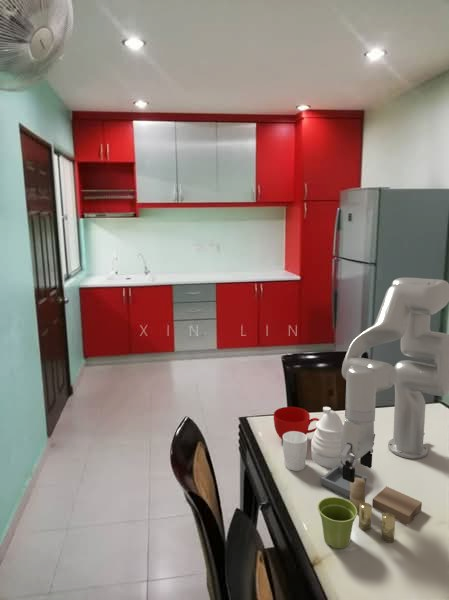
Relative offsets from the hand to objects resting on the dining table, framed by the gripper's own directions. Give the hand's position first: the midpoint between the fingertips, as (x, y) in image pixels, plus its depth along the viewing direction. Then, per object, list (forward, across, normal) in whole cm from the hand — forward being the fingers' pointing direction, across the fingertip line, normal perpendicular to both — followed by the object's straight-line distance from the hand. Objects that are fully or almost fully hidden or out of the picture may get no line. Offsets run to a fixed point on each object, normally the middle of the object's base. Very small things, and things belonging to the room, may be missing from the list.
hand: (357, 472), depth 114 cm
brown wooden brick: (+11, -8, +8) cm, 16 cm away
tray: (+11, -8, -8) cm, 16 cm away
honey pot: (+11, -19, -19) cm, 29 cm away
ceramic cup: (+11, -21, -34) cm, 41 cm away
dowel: (+11, -1, 0) cm, 11 cm away
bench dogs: (+11, +5, +8) cm, 14 cm away
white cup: (+11, -7, -25) cm, 28 cm away
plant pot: (+12, +14, +2) cm, 18 cm away
